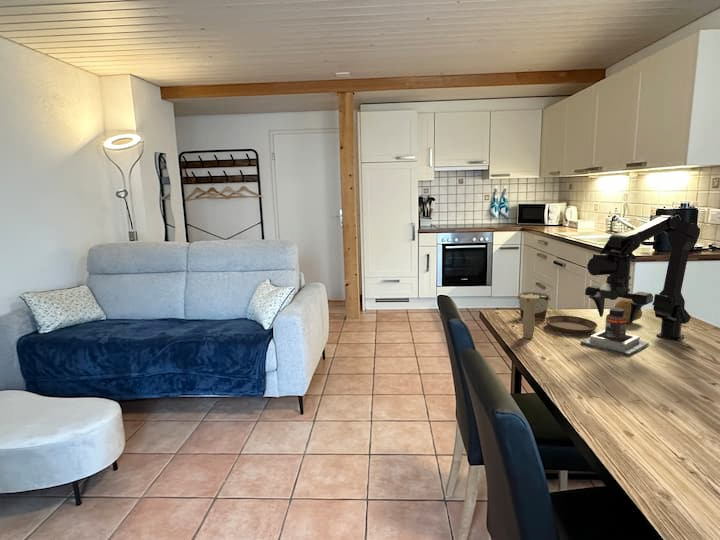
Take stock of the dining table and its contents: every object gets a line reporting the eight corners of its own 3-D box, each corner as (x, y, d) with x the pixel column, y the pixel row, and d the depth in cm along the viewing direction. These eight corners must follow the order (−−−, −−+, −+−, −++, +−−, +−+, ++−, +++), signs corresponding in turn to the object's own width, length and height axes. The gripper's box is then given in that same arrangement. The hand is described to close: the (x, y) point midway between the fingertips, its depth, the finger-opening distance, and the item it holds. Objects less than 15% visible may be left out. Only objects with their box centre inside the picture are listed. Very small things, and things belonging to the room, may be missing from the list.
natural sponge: (607, 319, 173) (609, 295, 171) (628, 318, 174) (630, 294, 172) (623, 326, 164) (625, 300, 162) (645, 325, 165) (647, 299, 163)
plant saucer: (598, 326, 166) (599, 318, 165) (594, 340, 151) (595, 331, 151) (549, 320, 175) (549, 313, 175) (540, 332, 160) (541, 324, 160)
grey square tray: (601, 334, 156) (601, 326, 155) (648, 345, 144) (649, 336, 143) (580, 344, 147) (581, 335, 146) (628, 356, 135) (629, 347, 134)
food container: (548, 315, 180) (549, 292, 179) (549, 320, 175) (550, 295, 173) (516, 313, 184) (517, 291, 183) (516, 318, 179) (517, 294, 177)
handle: (536, 340, 151) (537, 299, 149) (517, 337, 155) (518, 297, 152) (538, 336, 155) (540, 296, 153) (520, 334, 159) (521, 294, 156)
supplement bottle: (626, 341, 145) (629, 308, 143) (622, 346, 141) (625, 312, 139) (606, 337, 149) (609, 305, 147) (601, 342, 145) (604, 309, 143)
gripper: (578, 272, 144) (575, 318, 146) (641, 280, 129) (636, 331, 132) (594, 268, 150) (591, 312, 153) (655, 275, 135) (651, 324, 138)
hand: (615, 319), depth 144 cm, fingers open, 9 cm apart
